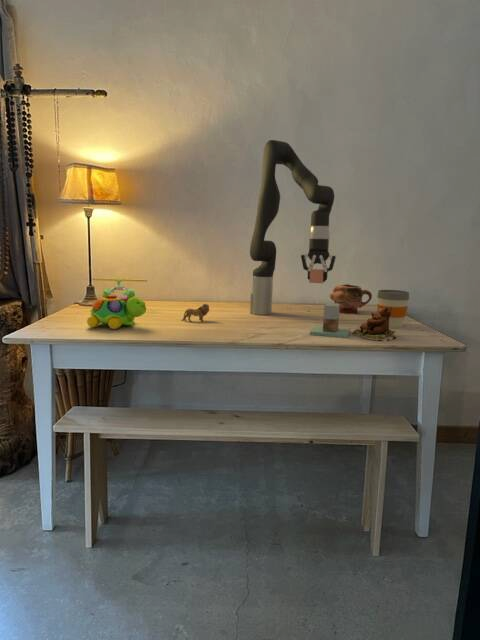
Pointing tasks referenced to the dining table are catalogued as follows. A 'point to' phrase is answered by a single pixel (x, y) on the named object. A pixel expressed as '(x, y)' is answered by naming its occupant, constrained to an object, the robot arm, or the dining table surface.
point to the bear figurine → (377, 326)
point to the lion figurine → (197, 312)
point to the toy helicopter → (119, 288)
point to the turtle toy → (115, 311)
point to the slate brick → (331, 310)
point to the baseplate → (340, 332)
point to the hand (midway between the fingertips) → (317, 280)
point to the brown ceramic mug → (349, 298)
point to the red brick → (316, 275)
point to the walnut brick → (330, 325)
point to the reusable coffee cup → (394, 305)
